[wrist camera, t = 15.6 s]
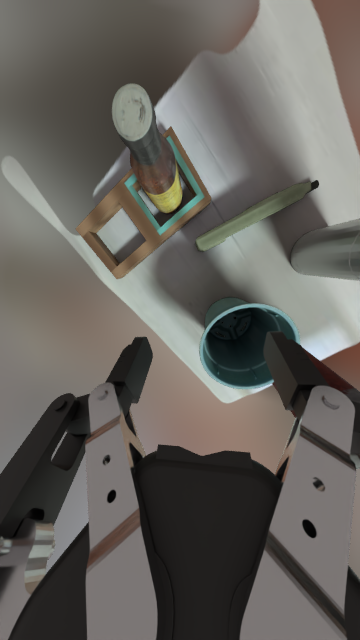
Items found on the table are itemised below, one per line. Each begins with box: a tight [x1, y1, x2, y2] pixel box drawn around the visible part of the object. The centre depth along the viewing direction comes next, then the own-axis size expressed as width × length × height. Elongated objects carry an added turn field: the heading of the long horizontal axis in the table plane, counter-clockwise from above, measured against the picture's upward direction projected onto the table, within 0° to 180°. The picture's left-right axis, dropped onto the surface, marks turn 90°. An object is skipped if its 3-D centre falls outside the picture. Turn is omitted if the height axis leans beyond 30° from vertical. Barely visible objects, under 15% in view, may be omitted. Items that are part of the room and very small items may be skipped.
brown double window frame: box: [76, 127, 211, 279], centre depth 33 cm, size 26×13×3 cm, turn 126°
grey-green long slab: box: [195, 180, 319, 252], centre depth 31 cm, size 7×3×25 cm
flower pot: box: [199, 297, 300, 389], centre depth 34 cm, size 16×16×16 cm
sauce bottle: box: [112, 83, 182, 214], centre depth 24 cm, size 7×6×20 cm
